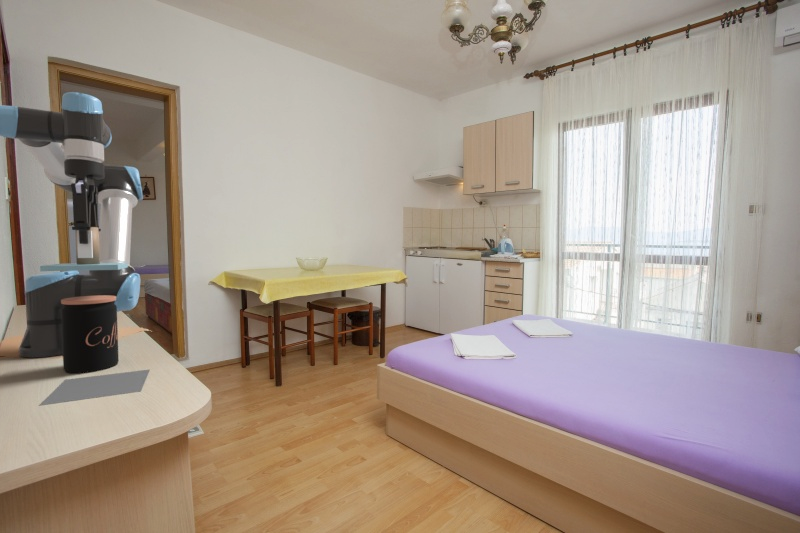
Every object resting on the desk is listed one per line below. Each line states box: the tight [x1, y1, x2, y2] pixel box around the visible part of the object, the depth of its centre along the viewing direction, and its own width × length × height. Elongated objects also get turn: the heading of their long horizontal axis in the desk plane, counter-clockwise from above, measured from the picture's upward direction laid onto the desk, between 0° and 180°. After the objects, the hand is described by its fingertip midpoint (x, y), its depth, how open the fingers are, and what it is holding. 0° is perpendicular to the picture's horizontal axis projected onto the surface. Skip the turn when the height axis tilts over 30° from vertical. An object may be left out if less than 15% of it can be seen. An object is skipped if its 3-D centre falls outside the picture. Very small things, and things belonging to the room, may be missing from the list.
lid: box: [39, 227, 128, 272], centre depth 94 cm, size 14×14×10 cm
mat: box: [38, 369, 151, 407], centre depth 83 cm, size 16×16×1 cm
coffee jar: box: [61, 295, 120, 375], centre depth 95 cm, size 11×11×18 cm
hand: (88, 257), depth 94 cm, fingers closed on lid, 4 cm apart
